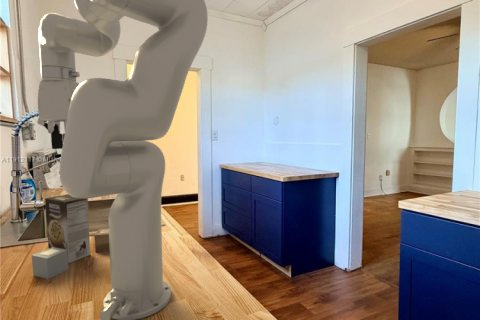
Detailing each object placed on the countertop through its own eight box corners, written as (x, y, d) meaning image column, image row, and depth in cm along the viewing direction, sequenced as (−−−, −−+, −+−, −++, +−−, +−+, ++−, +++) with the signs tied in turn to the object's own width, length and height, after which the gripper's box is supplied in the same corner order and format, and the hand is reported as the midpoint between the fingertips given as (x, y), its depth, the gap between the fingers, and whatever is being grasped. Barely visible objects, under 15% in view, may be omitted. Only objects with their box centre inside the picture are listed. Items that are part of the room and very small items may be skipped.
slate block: (48, 279, 64) (46, 258, 63) (33, 275, 65) (31, 254, 65) (68, 269, 68) (67, 249, 68) (54, 266, 70) (52, 246, 70)
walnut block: (114, 250, 79) (113, 233, 79) (95, 252, 78) (94, 234, 78) (117, 244, 84) (116, 227, 84) (99, 245, 83) (98, 228, 83)
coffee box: (47, 256, 75) (43, 197, 74) (71, 248, 81) (68, 193, 79) (67, 264, 71) (64, 201, 69) (91, 254, 77) (88, 196, 75)
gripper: (97, 79, 74) (101, 148, 76) (41, 80, 76) (46, 148, 78) (78, 73, 67) (83, 149, 69) (17, 74, 69) (22, 149, 70)
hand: (63, 148), depth 73 cm, fingers open, 2 cm apart
